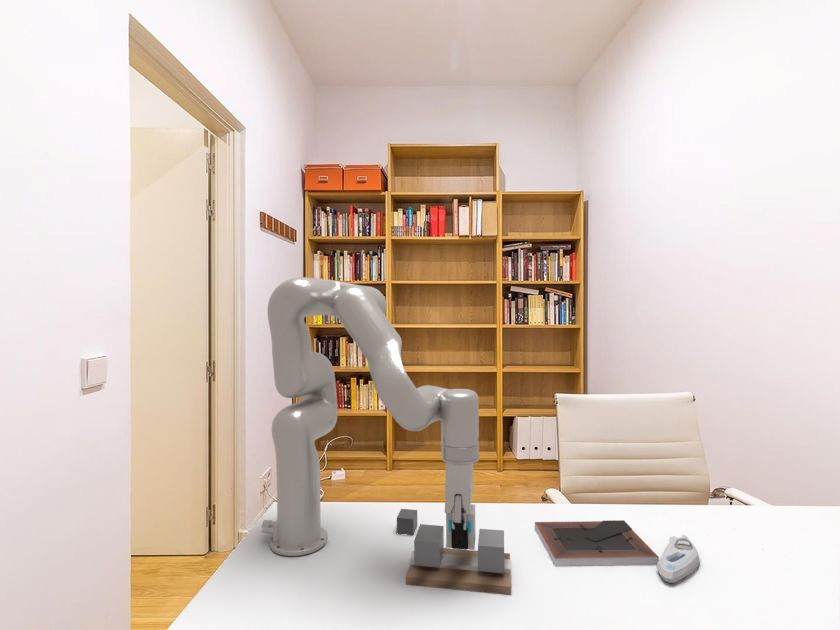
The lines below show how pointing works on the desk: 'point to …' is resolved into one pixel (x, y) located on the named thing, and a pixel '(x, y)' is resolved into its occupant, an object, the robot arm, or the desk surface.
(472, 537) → the block
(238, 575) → the desk surface
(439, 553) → the mounted modules
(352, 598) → the desk surface
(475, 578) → the rail board
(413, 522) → the grey rectangular block
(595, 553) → the picture frame
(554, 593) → the desk surface
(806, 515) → the desk surface
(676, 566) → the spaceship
